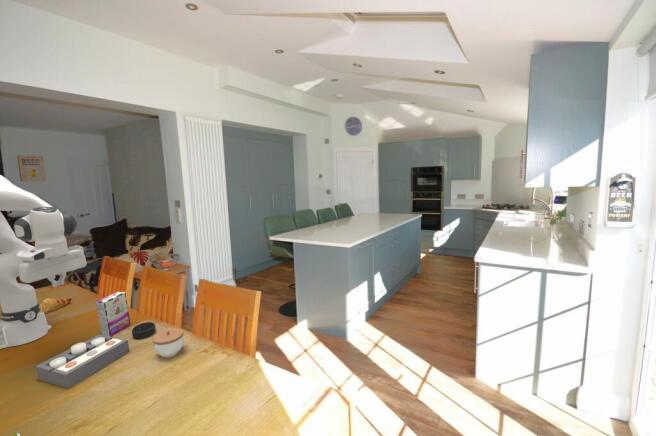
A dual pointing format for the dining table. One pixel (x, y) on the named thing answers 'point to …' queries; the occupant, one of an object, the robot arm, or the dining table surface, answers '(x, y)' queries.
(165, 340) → the lidded jar
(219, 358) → the dining table surface
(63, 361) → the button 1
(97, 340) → the button
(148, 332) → the smart speaker
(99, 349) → the button board
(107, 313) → the candy bar box
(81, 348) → the button
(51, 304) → the croissant
